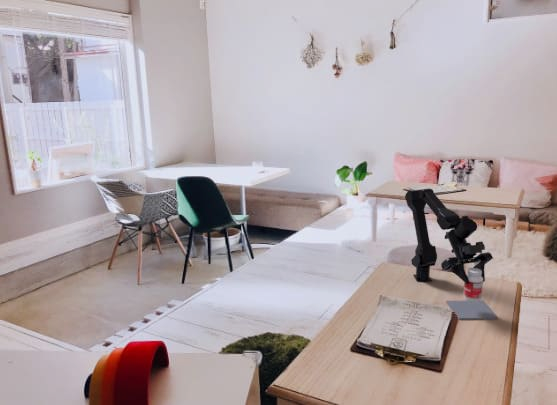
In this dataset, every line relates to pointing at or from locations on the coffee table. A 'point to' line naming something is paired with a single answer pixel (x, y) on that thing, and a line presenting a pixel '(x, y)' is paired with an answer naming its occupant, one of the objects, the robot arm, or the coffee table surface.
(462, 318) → the mat
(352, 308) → the coffee table surface
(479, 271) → the pill bottle
